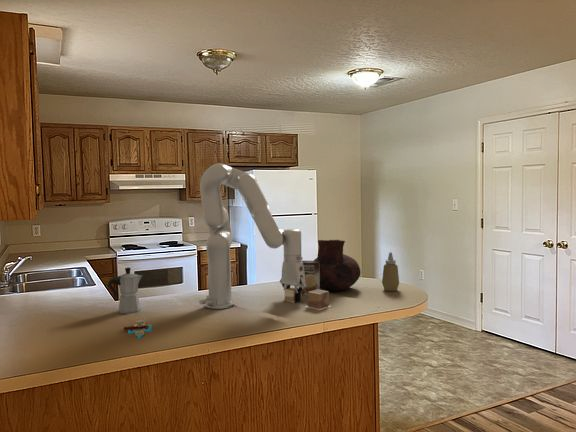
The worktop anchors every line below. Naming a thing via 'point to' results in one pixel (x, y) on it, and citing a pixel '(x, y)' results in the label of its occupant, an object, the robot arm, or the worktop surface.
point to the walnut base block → (318, 299)
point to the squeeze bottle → (390, 274)
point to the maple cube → (290, 295)
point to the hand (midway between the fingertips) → (292, 300)
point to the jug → (336, 266)
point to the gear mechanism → (140, 326)
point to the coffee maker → (127, 291)
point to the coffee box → (311, 276)
